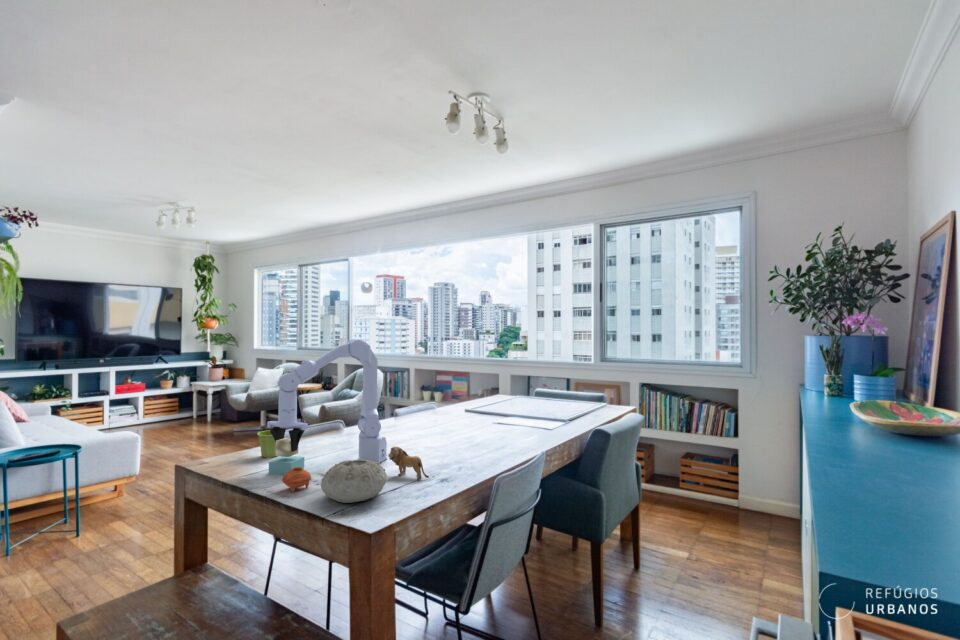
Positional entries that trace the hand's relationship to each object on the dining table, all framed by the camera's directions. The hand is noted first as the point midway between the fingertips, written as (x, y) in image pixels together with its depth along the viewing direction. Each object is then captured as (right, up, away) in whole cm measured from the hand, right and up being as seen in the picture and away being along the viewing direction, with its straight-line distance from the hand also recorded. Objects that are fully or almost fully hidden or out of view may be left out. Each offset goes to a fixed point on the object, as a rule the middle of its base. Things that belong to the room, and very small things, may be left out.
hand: (287, 450), depth 159 cm
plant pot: (-13, -7, +18) cm, 24 cm away
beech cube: (0, -1, 0) cm, 1 cm away
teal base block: (0, -7, 0) cm, 7 cm away
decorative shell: (+29, -7, -25) cm, 39 cm away
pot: (+10, -7, -19) cm, 22 cm away
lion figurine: (+41, -7, -6) cm, 42 cm away
